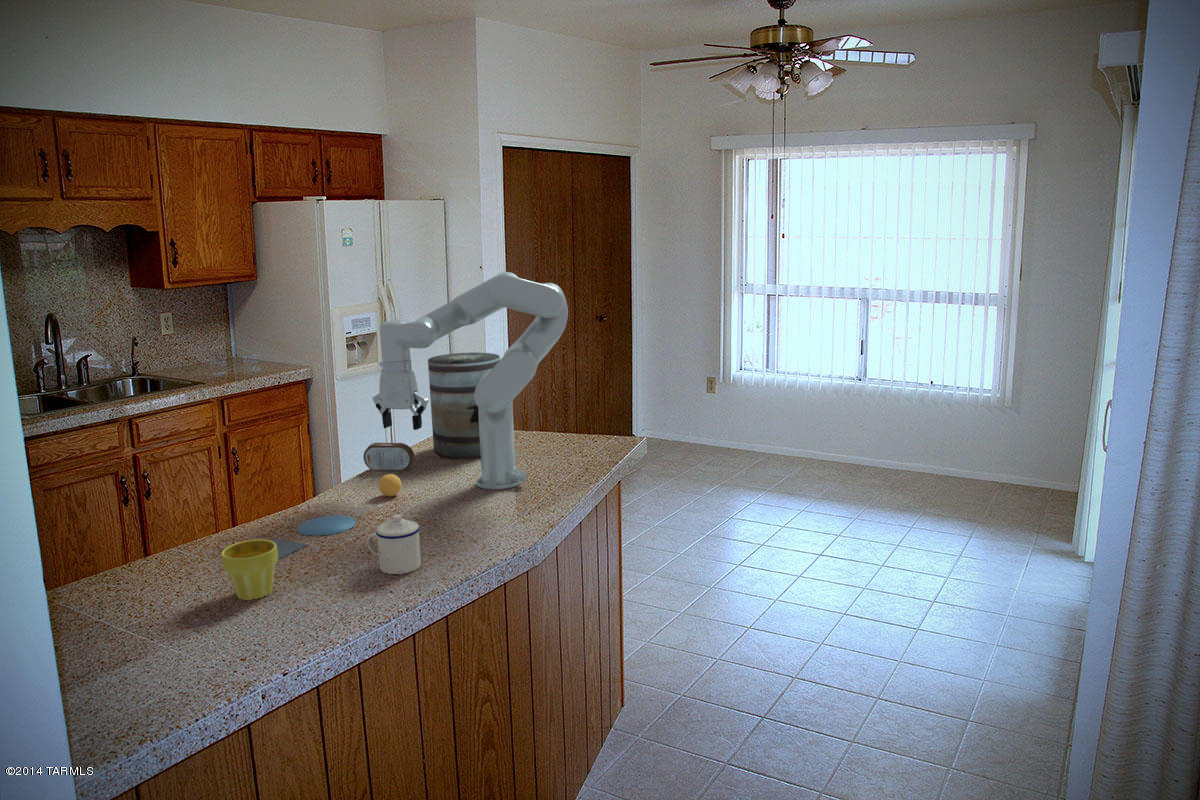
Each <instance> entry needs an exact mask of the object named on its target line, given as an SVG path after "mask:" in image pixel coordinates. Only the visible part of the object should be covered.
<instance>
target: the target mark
mask: <svg viewBox="0 0 1200 800" xmlns="http://www.w3.org/2000/svg"><path fill="white" fill-rule="evenodd" d="M355 524H356V525H357V520H356V519H355V518H354V517H352V516H348V515H325V516H319V517H315V518H311V519H309V520H306V521H303V522H301V523H300V524H299V525H298V526H297V528H296V531H297V532H298V533H299V534H300V533H301V535H303V534H304V535H303V536H308V535H315V536H314V537H322V536H321V535H326V536H332V535H333V536H334V535H336V534H341V533H344V532H347V531H349V530H351V529H353V528H354V527H356V525H355ZM352 527H353V528H352ZM350 528H351V529H350ZM340 532H341V533H340ZM318 535H319V536H318Z"/></svg>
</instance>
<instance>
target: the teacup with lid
mask: <svg viewBox="0 0 1200 800" xmlns="http://www.w3.org/2000/svg"><path fill="white" fill-rule="evenodd" d="M419 532H420V526H419V524H418V522H415V521H413V520H408V519H405V518H403V517H402V515H400V514H394V515H393V516H391V519H390V520H388V521H387V522H384V523H382V524H380V525H379V526H378V527H377V528H376V531H375V532H373V533H371V534H369V536H368V537H367V539H366V541H367V547H368V549H369V550H370V552H371V553H372V554H373V555H374V556H378V559H379V560H378V561H379V570H380V571H381V572H382V573H383V574H386V573H388V574H387V575H391V574H399V575H404V573H406V574H410V573H412V571H413V572H415V571H417V570H418V569H419V568H420V567H421V566H422V565H421V564H422V561H421V559H422V558H421V549H420V547H421V546H420V533H419ZM373 538H377V548H378V549H377V548H375V546H374V544H373V543H374V542H373ZM409 572H410V573H409Z"/></svg>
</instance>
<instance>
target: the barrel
mask: <svg viewBox="0 0 1200 800" xmlns="http://www.w3.org/2000/svg"><path fill="white" fill-rule="evenodd" d="M500 360H501V355H499V354H497V353H491V352H458V353H457V352H456V353H455V352H454V353H447V354H439V355H435V356H432V357H430V358H428V360H427V365H428V368H427V369H428V381H429V399H430V413H431V427H432V440H433V441H432V442H433V444H432V445H433V454H434V453H435V454H436V455H437V456H436V455H435V454H434V455H435V456H436V457H438V456H439V458H441V457H442V459H446V458H448V459H447V460H455V459H466V460H477V459H476V458H478V459H481V454H480V436H479V413H478V406H477V404H476V402H475V398H474V393H475V389H476V386H477V384H478V382H479V380H480V379H481V377H482V376H483V375H485V374H486V373H489V372H490V371H491V370H492V369H493V368H494V367H495V365H496V364H497V363H498V362H499V361H500Z"/></svg>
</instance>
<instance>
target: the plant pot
mask: <svg viewBox="0 0 1200 800" xmlns="http://www.w3.org/2000/svg"><path fill="white" fill-rule="evenodd" d="M278 562H279V560H278V552H277V545H276V543H275V542H273V541H272V540H269V539H258V538H257V539H249V540H244V541H239V542H236V543H233V544H231V545H228V546H227V547H226V548H224V549H223V550H221V564H222V568H223V570H224V571H225V573H226V572H227V574H228V576H229V577H228V578H229V579H230V582H231V584H232V587H233V590H234V592H235V595H236V598H237V597H238V599H239V600H241V599H243V600H242V601H246V600H247V601H253V600H252V599H256V600H259V599H258V598H260V599H262V597H263V598H265V597H267V596H268V594H269V595H270V594H271V593H272V592H273V591H272V590H273V583H274V575H275V565H276V564H277V563H278ZM264 596H265V597H264ZM250 599H251V600H250Z"/></svg>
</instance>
